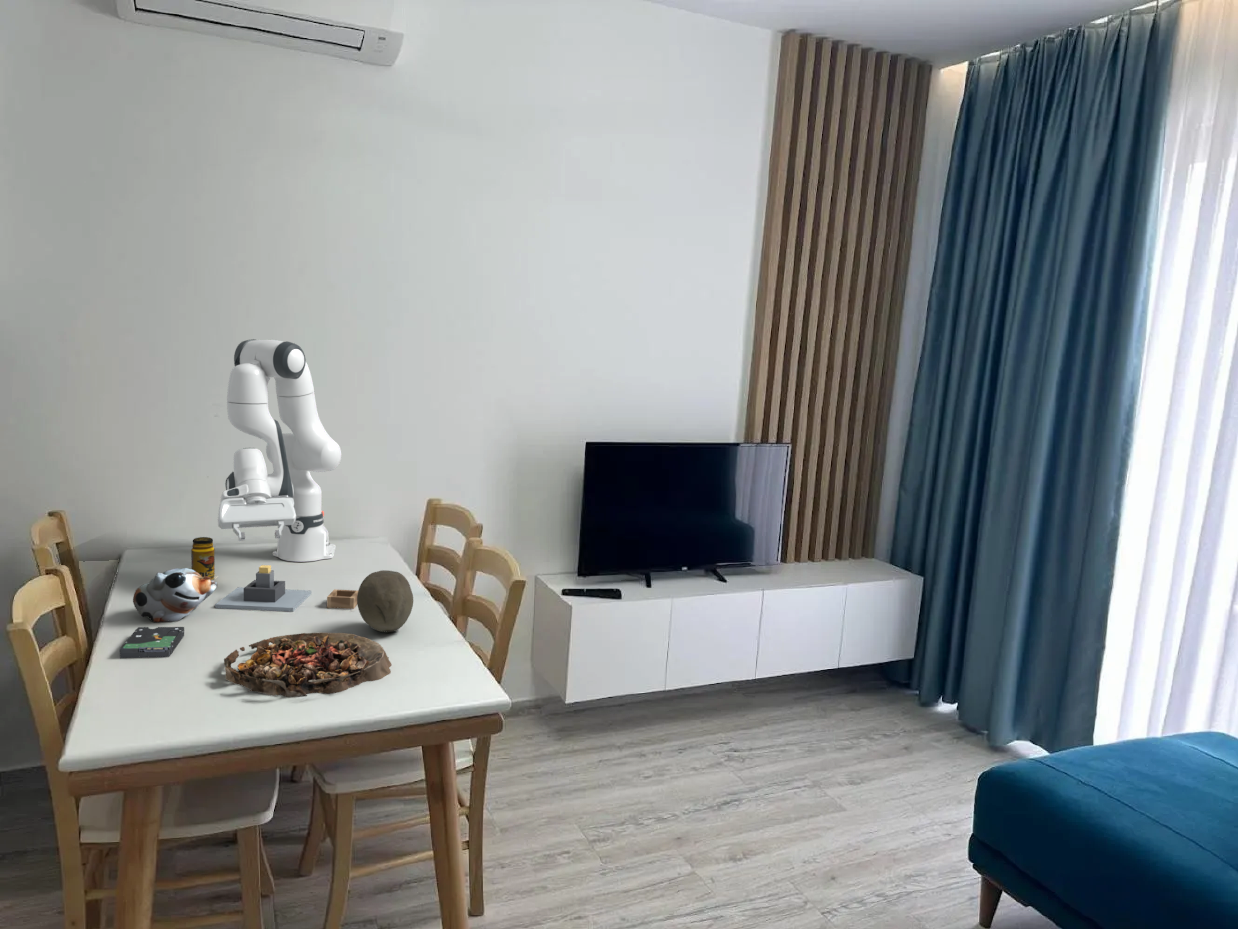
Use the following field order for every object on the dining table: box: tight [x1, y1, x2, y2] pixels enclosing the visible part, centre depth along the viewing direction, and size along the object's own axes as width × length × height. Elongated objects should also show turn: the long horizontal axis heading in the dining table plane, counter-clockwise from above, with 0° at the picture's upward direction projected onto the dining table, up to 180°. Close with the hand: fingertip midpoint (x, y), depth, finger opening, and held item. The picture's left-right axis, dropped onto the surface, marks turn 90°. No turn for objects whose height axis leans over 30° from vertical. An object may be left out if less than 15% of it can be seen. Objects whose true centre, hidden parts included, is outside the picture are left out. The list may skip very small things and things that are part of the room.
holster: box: [326, 588, 359, 610], centre depth 251 cm, size 7×7×3 cm
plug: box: [255, 564, 275, 588], centre depth 249 cm, size 4×4×8 cm
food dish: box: [223, 631, 392, 698], centre depth 204 cm, size 35×33×8 cm
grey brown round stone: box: [357, 569, 414, 633], centre depth 232 cm, size 14×14×15 cm
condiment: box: [190, 536, 219, 582], centre depth 265 cm, size 7×8×12 cm
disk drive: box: [119, 626, 185, 659], centre depth 213 cm, size 10×3×15 cm
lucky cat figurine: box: [132, 567, 218, 623], centre depth 233 cm, size 17×14×16 cm
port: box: [214, 579, 312, 613], centre depth 250 cm, size 16×20×4 cm
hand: (260, 538), depth 255 cm, fingers open, 8 cm apart
